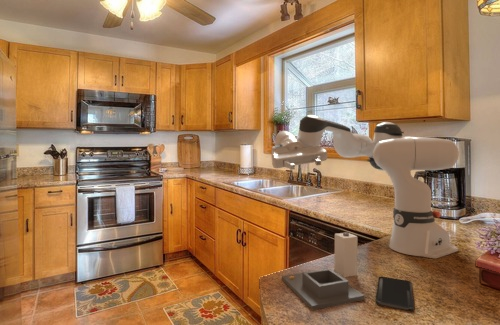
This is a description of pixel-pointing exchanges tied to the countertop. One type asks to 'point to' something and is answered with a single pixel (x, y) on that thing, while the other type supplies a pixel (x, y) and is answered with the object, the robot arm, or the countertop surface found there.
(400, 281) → the phone
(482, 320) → the countertop surface
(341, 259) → the cream square peg
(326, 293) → the dock
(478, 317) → the countertop surface
